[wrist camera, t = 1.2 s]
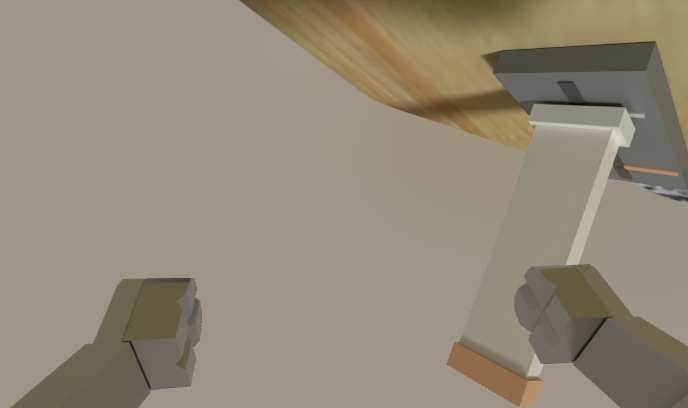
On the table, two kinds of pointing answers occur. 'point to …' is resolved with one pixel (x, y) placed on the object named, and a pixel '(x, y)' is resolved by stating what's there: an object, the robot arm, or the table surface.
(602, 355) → the robot arm
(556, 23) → the table surface
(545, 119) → the fader tab
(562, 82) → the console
